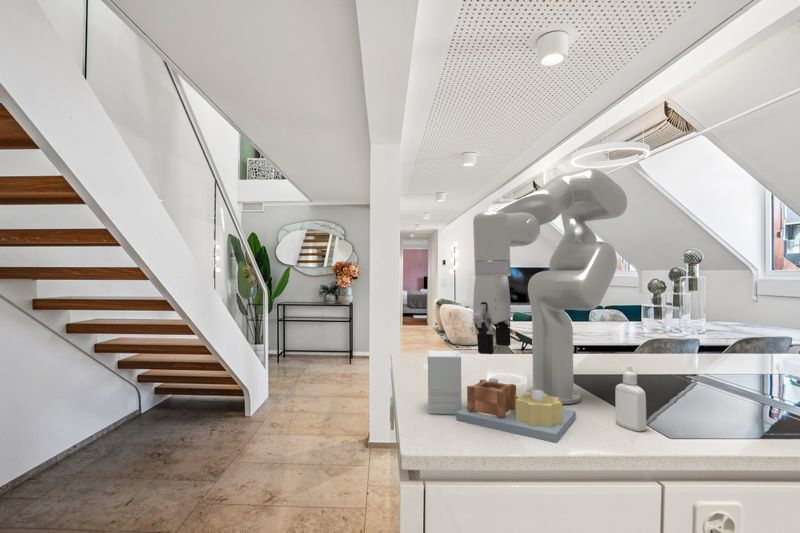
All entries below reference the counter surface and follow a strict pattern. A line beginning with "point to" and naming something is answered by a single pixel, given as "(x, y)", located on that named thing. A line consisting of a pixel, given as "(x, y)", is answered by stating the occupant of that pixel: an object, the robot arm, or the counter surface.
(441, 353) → the supplement box
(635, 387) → the eye dropper bottle
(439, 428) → the counter surface
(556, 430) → the gear board
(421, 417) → the counter surface
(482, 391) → the brown open boxy piece
